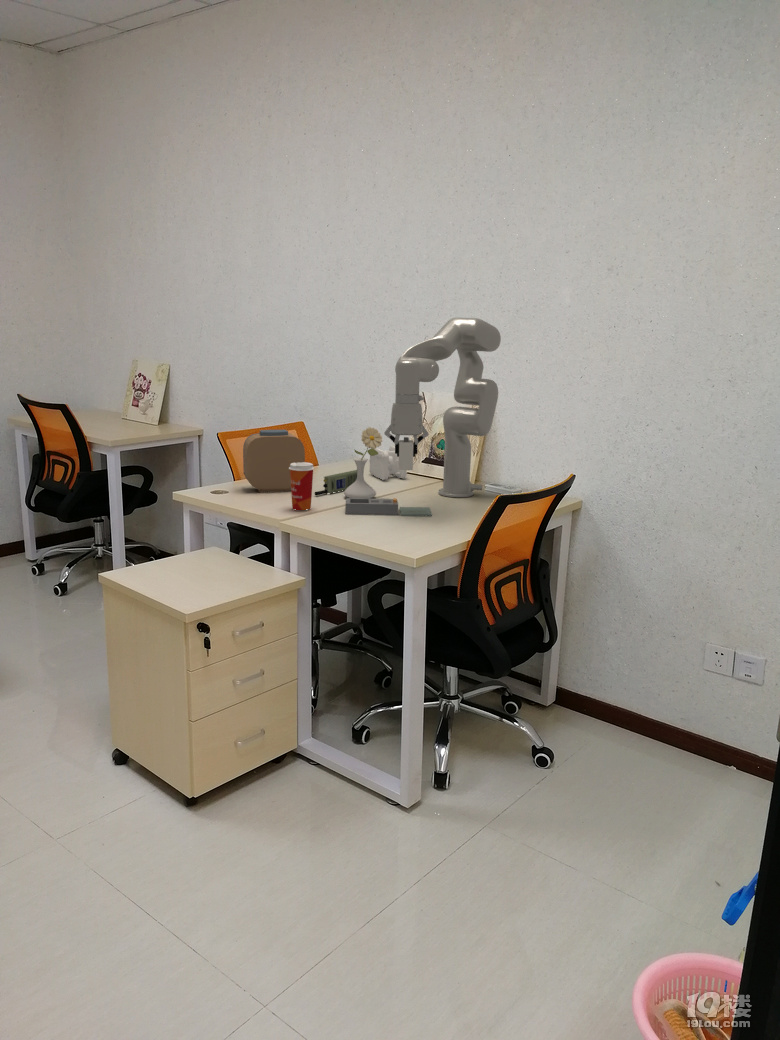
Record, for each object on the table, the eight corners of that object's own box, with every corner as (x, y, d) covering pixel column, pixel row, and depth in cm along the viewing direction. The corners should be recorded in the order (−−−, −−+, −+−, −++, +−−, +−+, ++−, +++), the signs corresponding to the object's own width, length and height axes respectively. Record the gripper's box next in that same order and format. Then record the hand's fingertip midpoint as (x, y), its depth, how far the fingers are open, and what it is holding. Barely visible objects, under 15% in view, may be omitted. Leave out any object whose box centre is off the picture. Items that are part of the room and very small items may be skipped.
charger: (412, 467, 272) (413, 436, 269) (412, 470, 268) (413, 438, 265) (398, 467, 272) (399, 436, 269) (398, 470, 268) (399, 438, 265)
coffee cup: (285, 506, 276) (285, 462, 272) (309, 505, 279) (309, 461, 275) (293, 512, 268) (293, 467, 265) (317, 511, 272) (317, 465, 268)
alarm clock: (299, 485, 309) (299, 427, 304) (304, 491, 300) (304, 431, 295) (243, 488, 302) (242, 429, 297) (247, 493, 294) (246, 432, 288)
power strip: (396, 509, 277) (397, 496, 276) (397, 515, 269) (398, 502, 268) (345, 508, 276) (345, 495, 275) (345, 514, 268) (345, 501, 267)
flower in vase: (345, 501, 285) (346, 429, 279) (342, 494, 296) (343, 424, 290) (383, 501, 287) (384, 429, 281) (378, 494, 298) (379, 424, 292)
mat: (429, 509, 278) (429, 507, 278) (431, 516, 269) (432, 514, 268) (399, 508, 278) (399, 506, 278) (401, 515, 268) (401, 514, 268)
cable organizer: (407, 480, 324) (408, 451, 321) (382, 482, 319) (383, 452, 316) (391, 473, 337) (392, 445, 334) (367, 475, 333) (368, 446, 330)
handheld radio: (364, 487, 310) (319, 498, 291) (357, 486, 312) (312, 496, 293) (364, 469, 309) (318, 479, 289) (357, 468, 311) (311, 478, 291)
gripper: (433, 398, 268) (431, 454, 272) (380, 397, 267) (379, 453, 272) (434, 401, 260) (432, 458, 265) (380, 400, 260) (379, 457, 265)
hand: (405, 455), depth 269 cm, fingers closed on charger, 4 cm apart
